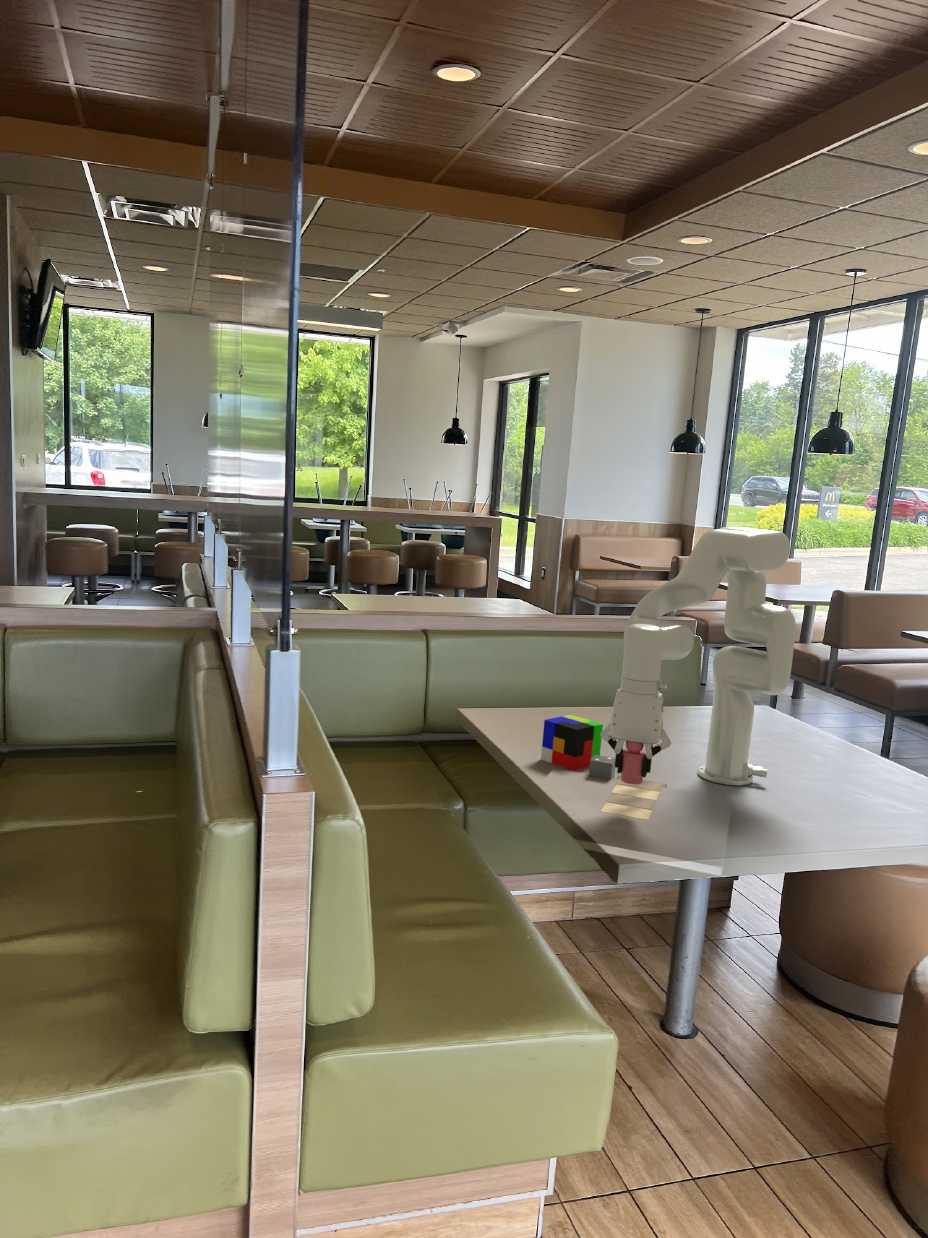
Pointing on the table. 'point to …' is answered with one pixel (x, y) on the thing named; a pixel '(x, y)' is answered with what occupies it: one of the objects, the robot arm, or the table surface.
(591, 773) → the die
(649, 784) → the board
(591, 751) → the puzzle toy
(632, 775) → the pawn
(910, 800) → the table surface
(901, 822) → the table surface
